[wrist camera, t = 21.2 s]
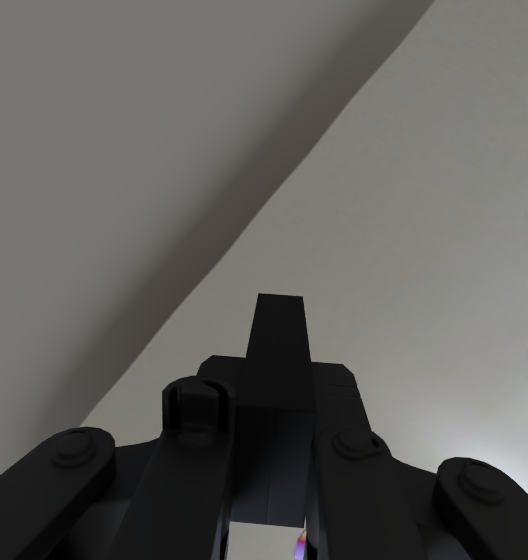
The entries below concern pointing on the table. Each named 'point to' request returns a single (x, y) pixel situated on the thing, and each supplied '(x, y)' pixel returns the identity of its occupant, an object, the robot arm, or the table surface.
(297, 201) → the table surface
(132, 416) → the table surface
